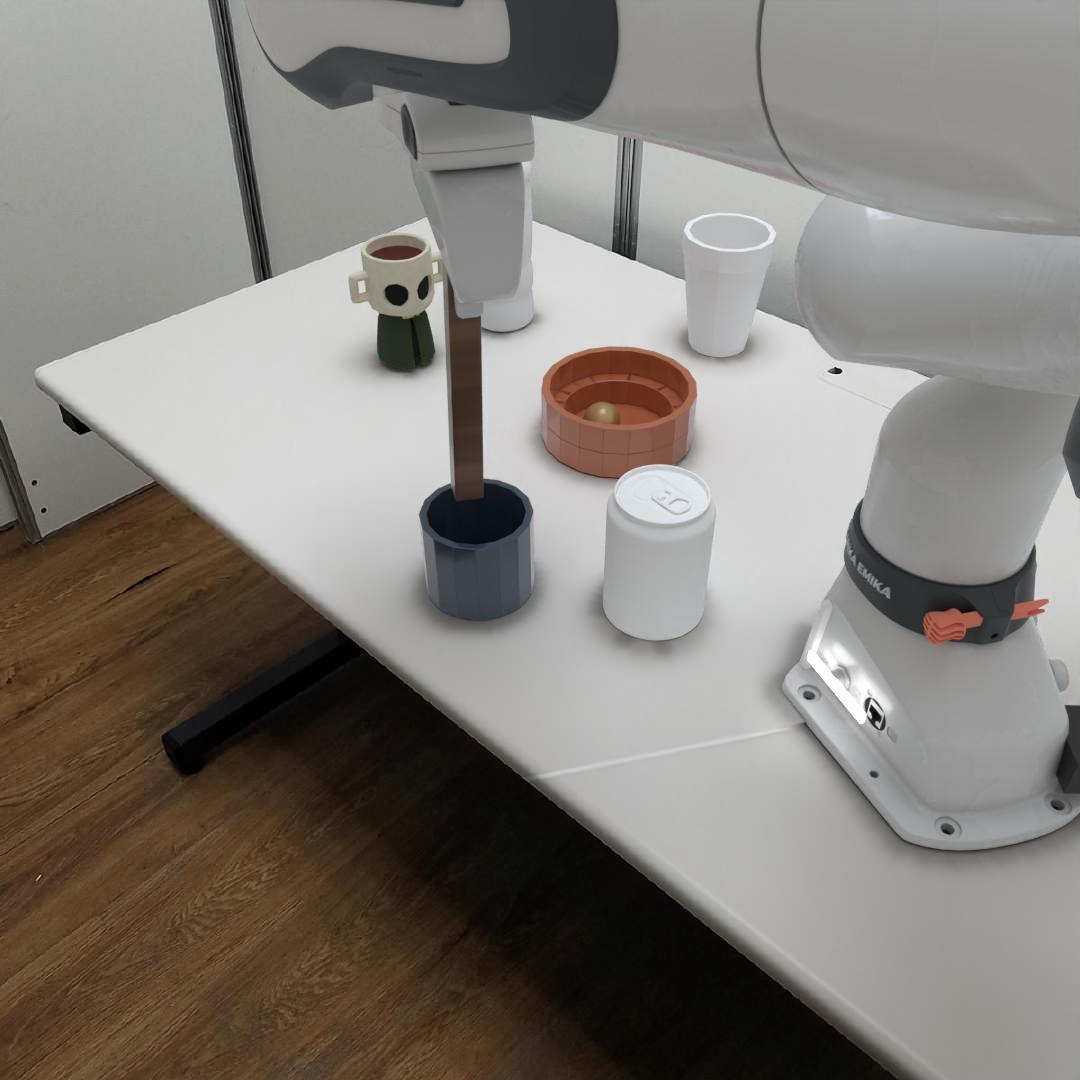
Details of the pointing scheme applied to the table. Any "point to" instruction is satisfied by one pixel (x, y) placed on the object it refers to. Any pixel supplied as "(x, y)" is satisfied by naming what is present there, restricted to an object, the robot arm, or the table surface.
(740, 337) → the foam cup
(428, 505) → the pot
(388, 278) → the character mug
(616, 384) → the bowl
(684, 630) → the beverage can
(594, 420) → the bead
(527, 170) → the water bottle
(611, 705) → the table surface
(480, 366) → the stick
